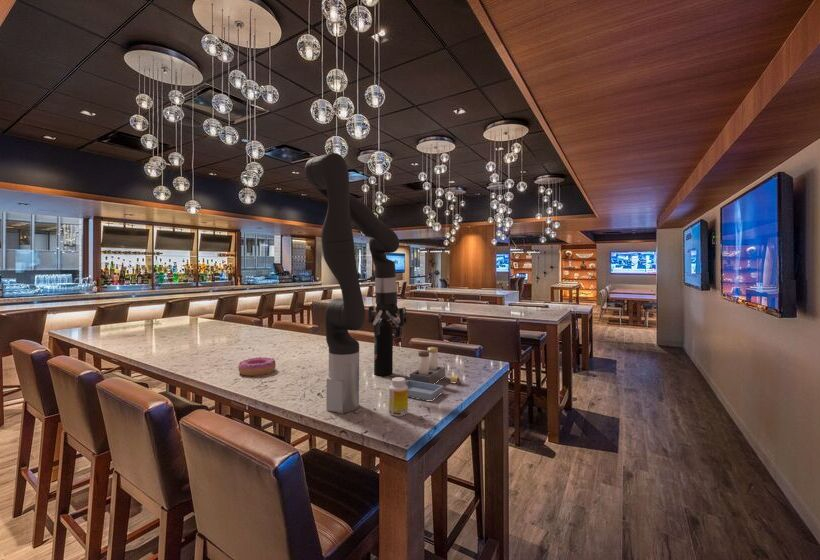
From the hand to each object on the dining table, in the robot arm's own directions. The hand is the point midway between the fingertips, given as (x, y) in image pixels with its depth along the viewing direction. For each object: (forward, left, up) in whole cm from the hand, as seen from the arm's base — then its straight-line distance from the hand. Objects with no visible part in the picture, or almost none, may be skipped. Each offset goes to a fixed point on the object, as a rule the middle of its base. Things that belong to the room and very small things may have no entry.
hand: (388, 336), depth 127 cm
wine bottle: (+17, +12, -20) cm, 29 cm away
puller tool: (+23, -16, -19) cm, 34 cm away
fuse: (+21, -8, -19) cm, 30 cm away
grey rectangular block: (+17, -8, -19) cm, 27 cm away
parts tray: (+2, -11, -19) cm, 22 cm away
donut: (-6, +59, -20) cm, 63 cm away
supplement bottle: (-16, -14, -20) cm, 29 cm away
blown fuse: (+13, -8, -19) cm, 25 cm away
